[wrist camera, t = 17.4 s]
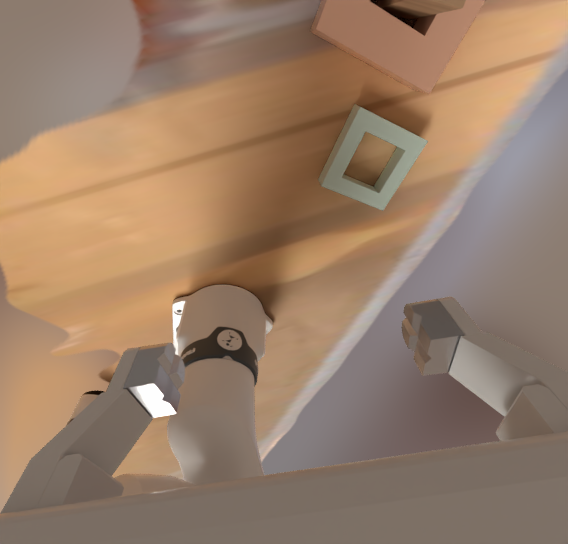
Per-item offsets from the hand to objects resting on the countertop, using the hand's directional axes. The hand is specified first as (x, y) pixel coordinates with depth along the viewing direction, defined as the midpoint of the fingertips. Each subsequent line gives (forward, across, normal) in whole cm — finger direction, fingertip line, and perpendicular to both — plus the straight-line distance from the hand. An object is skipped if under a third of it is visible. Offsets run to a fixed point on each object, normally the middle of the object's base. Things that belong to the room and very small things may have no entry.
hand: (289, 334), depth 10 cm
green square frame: (+33, -13, +6) cm, 36 cm away
